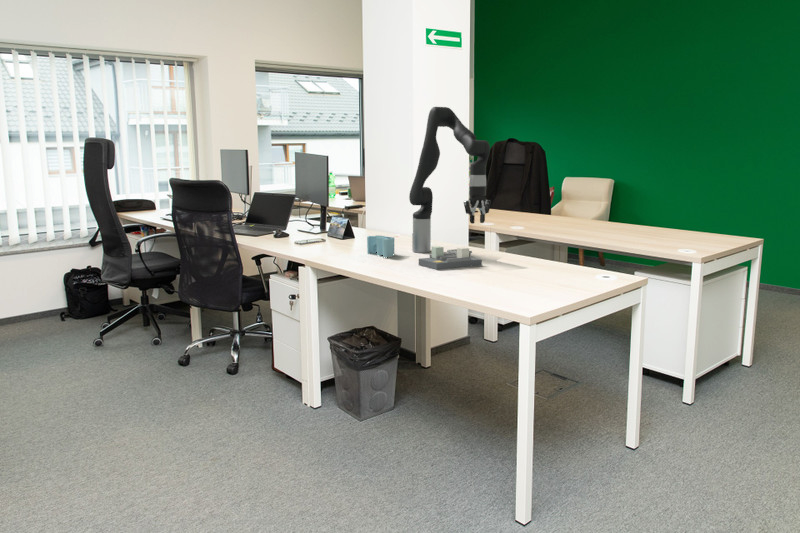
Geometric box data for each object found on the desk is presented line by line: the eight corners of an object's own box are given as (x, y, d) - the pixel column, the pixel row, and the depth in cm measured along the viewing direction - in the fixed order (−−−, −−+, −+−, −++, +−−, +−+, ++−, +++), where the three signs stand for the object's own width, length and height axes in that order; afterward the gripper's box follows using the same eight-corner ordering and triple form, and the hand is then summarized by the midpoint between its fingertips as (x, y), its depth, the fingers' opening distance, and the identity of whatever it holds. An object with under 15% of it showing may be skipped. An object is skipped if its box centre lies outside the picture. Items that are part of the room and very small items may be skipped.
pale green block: (431, 257, 291) (431, 246, 290) (438, 256, 293) (438, 246, 292) (435, 258, 287) (436, 247, 287) (443, 258, 289) (443, 247, 288)
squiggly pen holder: (400, 256, 319) (400, 238, 317) (385, 258, 312) (385, 239, 311) (377, 252, 332) (377, 235, 330) (362, 254, 325) (362, 236, 324)
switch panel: (418, 265, 290) (418, 255, 289) (462, 261, 301) (462, 251, 300) (436, 270, 276) (436, 259, 275) (481, 265, 287) (482, 256, 286)
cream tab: (456, 258, 287) (456, 247, 286) (464, 258, 288) (464, 247, 288) (461, 259, 283) (461, 248, 282) (469, 259, 285) (469, 248, 284)
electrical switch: (445, 250, 311) (461, 245, 315) (447, 260, 312) (462, 255, 317) (456, 252, 303) (472, 247, 307) (458, 262, 304) (473, 258, 309)
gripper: (485, 184, 291) (485, 221, 293) (459, 185, 284) (459, 223, 287) (495, 185, 284) (494, 223, 287) (469, 185, 277) (468, 224, 280)
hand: (477, 222), depth 287 cm, fingers open, 4 cm apart
